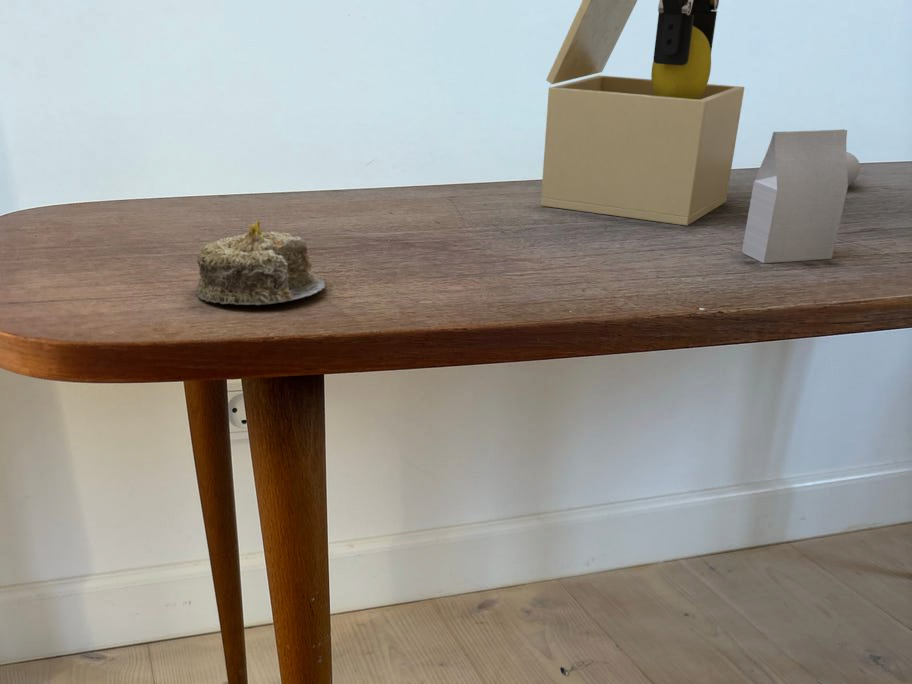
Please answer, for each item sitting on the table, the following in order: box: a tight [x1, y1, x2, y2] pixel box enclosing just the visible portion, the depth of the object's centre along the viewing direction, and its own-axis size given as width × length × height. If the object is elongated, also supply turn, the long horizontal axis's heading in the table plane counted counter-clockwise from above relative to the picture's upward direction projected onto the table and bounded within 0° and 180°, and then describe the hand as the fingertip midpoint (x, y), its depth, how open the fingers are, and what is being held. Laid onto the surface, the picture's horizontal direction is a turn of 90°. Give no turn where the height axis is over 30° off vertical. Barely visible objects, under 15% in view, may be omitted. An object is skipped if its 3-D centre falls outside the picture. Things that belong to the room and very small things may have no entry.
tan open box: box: [540, 74, 745, 226], centre depth 106 cm, size 16×13×11 cm
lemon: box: [650, 26, 712, 99], centre depth 101 cm, size 6×6×8 cm
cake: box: [195, 220, 326, 306], centre depth 80 cm, size 10×10×5 cm
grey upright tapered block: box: [741, 128, 849, 264], centre depth 90 cm, size 4×7×10 cm, turn 106°
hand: (682, 58), depth 100 cm, fingers open, 6 cm apart
